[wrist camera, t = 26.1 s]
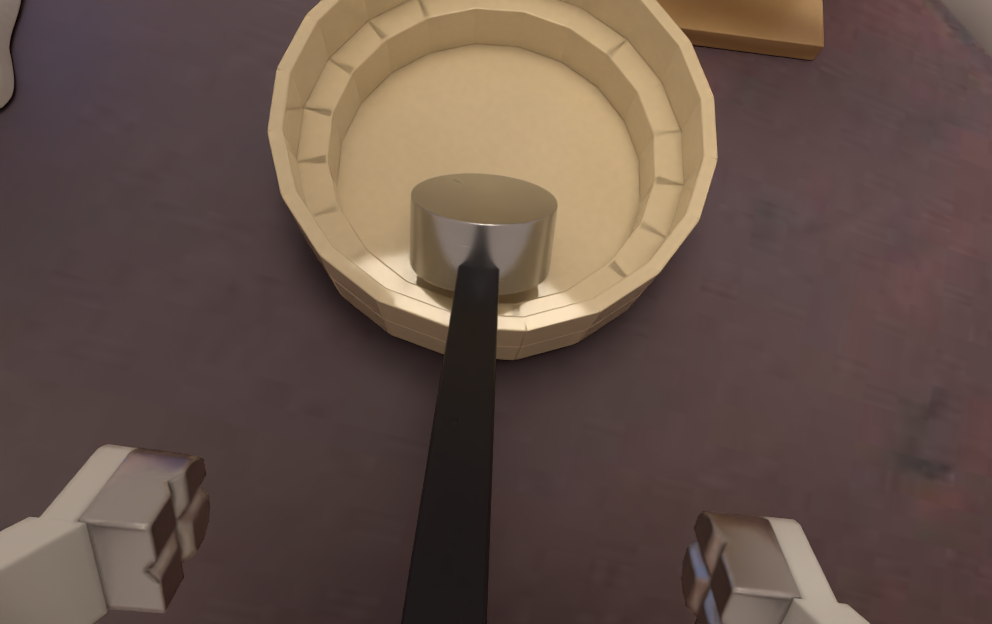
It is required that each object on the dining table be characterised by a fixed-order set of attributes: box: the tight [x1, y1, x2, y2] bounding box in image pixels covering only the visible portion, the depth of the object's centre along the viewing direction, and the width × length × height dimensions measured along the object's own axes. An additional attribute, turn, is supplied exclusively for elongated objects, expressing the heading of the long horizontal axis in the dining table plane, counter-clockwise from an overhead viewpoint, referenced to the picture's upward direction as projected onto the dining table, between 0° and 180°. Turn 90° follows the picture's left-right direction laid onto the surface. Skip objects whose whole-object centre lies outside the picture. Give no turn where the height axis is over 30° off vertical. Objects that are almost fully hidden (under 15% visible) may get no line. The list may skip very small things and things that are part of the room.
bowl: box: [268, 0, 718, 360], centre depth 31 cm, size 18×18×6 cm
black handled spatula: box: [401, 173, 558, 624], centre depth 22 cm, size 22×6×3 cm
